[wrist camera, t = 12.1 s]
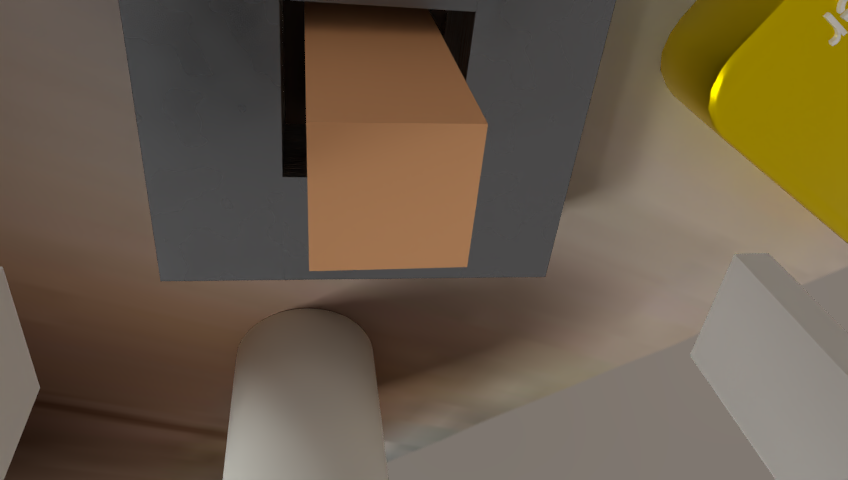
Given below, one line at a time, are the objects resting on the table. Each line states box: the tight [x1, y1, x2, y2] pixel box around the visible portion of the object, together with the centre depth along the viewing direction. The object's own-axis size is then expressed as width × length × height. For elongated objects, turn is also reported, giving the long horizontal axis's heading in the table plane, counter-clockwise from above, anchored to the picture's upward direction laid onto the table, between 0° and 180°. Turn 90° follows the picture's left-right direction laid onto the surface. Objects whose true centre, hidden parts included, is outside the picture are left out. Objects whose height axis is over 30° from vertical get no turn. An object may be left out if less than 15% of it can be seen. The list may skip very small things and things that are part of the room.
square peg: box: [304, 1, 488, 271], centre depth 20 cm, size 4×4×10 cm
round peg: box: [223, 308, 389, 480], centre depth 28 cm, size 6×6×10 cm
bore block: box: [119, 0, 616, 281], centre depth 22 cm, size 14×14×4 cm
